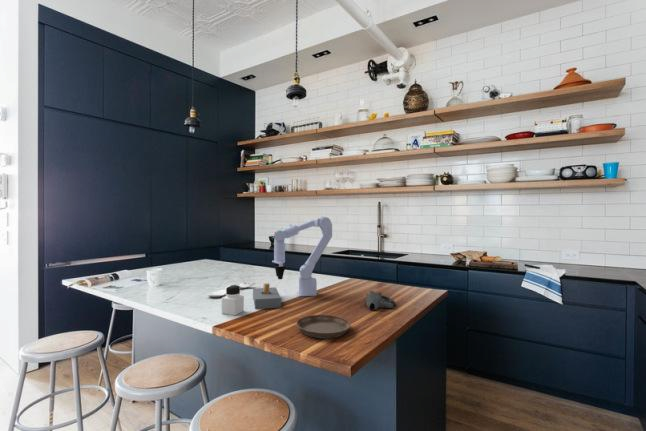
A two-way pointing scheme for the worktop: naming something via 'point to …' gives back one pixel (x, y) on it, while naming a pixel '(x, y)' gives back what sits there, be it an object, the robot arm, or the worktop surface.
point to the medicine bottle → (232, 301)
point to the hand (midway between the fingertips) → (279, 277)
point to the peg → (266, 288)
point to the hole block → (266, 298)
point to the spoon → (223, 292)
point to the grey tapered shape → (378, 301)
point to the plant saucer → (323, 326)
